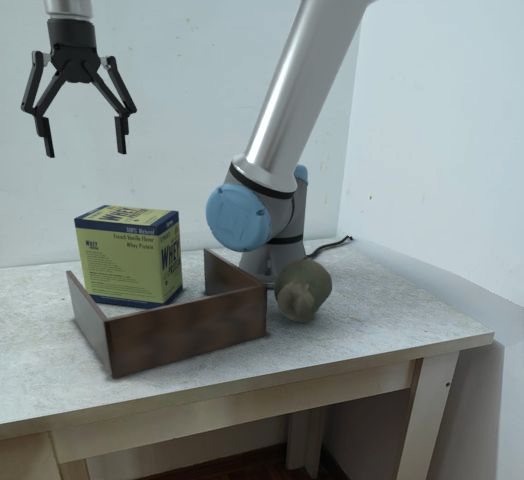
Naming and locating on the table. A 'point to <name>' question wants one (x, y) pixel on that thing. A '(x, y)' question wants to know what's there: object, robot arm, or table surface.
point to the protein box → (130, 255)
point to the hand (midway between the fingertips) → (87, 155)
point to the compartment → (176, 321)
